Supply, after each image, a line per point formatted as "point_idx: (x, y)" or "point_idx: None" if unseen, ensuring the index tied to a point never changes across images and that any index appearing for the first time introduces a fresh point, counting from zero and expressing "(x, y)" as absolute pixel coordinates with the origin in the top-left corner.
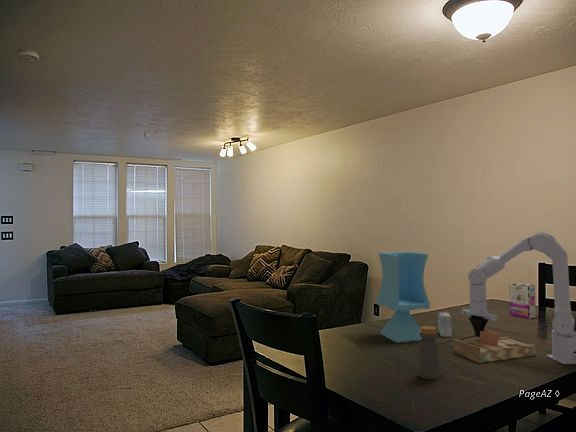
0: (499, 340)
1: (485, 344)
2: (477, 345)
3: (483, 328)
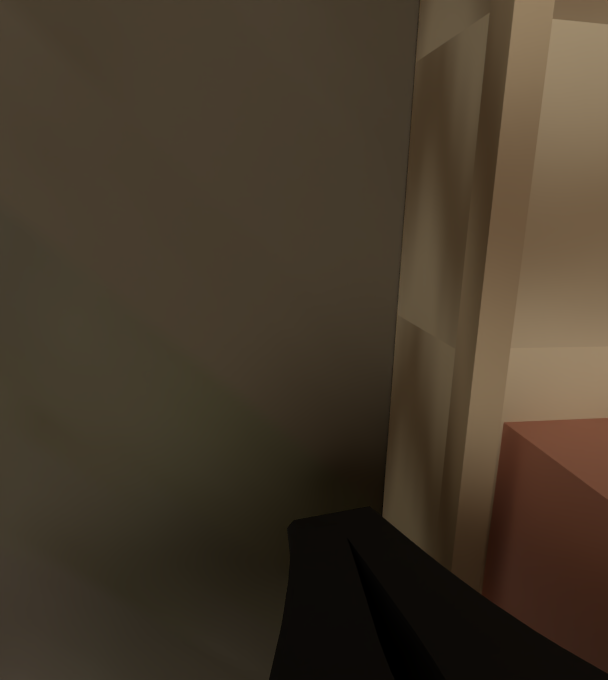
0: (540, 156)
1: None
2: None
3: (507, 647)
